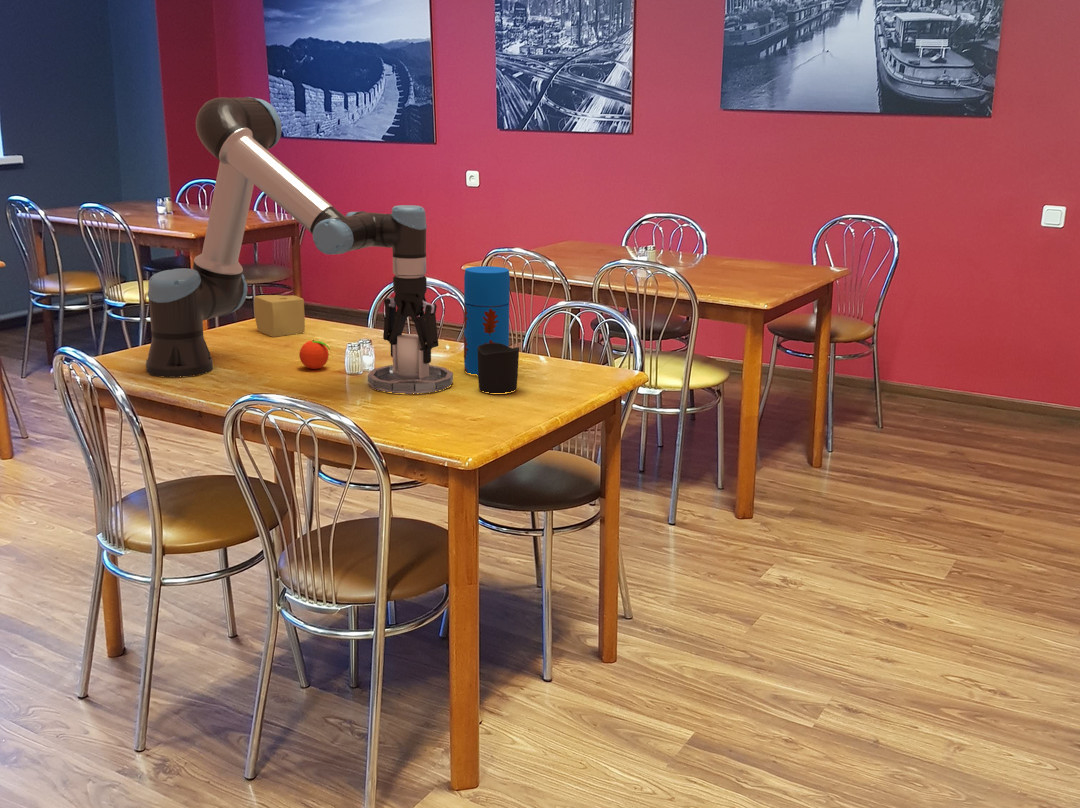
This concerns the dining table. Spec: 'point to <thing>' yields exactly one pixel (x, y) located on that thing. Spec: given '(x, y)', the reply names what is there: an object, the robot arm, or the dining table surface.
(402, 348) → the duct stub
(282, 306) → the cheese
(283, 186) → the robot arm
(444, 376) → the round tray
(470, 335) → the thermos
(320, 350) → the clementine
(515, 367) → the pen holder
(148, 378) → the dining table surface
